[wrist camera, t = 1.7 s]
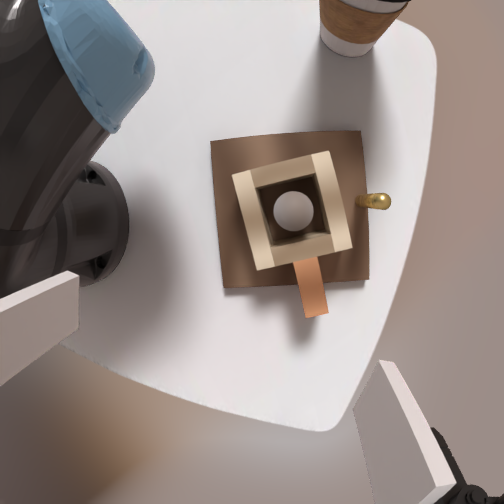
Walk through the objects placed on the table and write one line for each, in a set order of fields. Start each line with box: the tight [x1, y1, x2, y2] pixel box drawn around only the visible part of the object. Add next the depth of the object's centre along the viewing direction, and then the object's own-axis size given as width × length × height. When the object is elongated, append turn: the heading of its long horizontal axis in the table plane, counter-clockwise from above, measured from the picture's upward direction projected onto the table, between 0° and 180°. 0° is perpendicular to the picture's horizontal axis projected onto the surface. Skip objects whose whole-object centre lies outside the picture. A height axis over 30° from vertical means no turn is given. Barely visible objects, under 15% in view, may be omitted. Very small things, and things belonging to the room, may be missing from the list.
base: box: [210, 131, 369, 288], centre depth 25 cm, size 14×14×6 cm
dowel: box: [355, 193, 391, 210], centre depth 23 cm, size 1×1×7 cm
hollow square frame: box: [232, 151, 352, 318], centre depth 25 cm, size 13×8×4 cm, turn 15°
